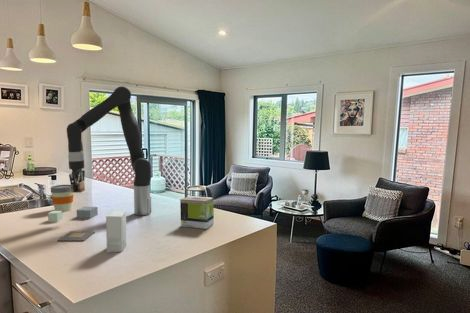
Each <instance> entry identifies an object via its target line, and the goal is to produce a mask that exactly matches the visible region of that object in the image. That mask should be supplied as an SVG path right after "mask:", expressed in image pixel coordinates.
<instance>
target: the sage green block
mask: <svg viewBox="0 0 470 313" xmlns="http://www.w3.org/2000/svg"><path fill="white" fill-rule="evenodd" d="M47 219H48V220H47V222H48V223H60V221H62V220H63V212H62V211H55V210H51V211H50V212H47Z"/></svg>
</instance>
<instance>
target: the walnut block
mask: <svg viewBox="0 0 470 313" xmlns="http://www.w3.org/2000/svg"><path fill="white" fill-rule="evenodd" d="M70 185H71V184H70ZM85 190H86V188H85V181H83V182H78V192H74V191H73V185H71V193H73V194H75V193H77V194H78V193H79V194H81V193H82V192H85Z"/></svg>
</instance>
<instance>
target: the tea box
mask: <svg viewBox="0 0 470 313" xmlns="http://www.w3.org/2000/svg"><path fill="white" fill-rule="evenodd" d="M179 201H180V203H179V204H180V207H179V208H180V227H185V228H195V229H201V230H202V229H204V230H207V229H209V228H210V227H212V226H213V225H214V223H215V222H214V220H215V219H214V218H215V216H214V197H210V196H209V197H208V196H198V195H197V196H196V195H187V196H185V197H183V198H181V199H180V200H179Z"/></svg>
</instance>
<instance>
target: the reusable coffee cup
mask: <svg viewBox="0 0 470 313" xmlns="http://www.w3.org/2000/svg"><path fill="white" fill-rule="evenodd" d="M50 193H51V201H52V204H53V207H54V211H62V213H65V212H69V211H71V210H72V207H73V202H74V193H71V184H58V185H53V186H50Z"/></svg>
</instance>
